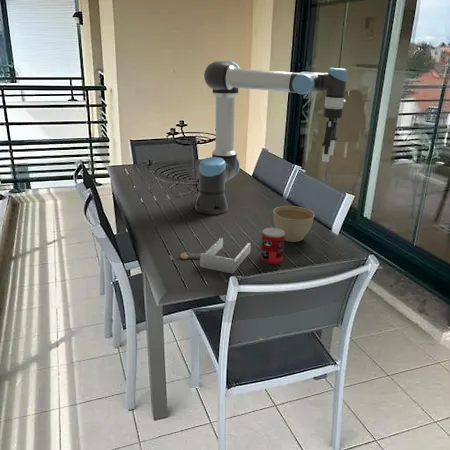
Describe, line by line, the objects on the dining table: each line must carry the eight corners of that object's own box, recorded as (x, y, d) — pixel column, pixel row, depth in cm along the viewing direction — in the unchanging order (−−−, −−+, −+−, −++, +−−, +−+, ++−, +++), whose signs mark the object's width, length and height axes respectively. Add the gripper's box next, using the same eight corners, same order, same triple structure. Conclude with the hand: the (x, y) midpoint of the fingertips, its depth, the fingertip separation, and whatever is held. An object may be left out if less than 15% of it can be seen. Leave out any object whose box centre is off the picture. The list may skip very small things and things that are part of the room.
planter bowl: (302, 249, 172) (305, 222, 168) (264, 239, 180) (266, 213, 176) (317, 236, 185) (320, 211, 180) (281, 227, 192) (283, 203, 188)
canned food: (258, 255, 166) (260, 227, 162) (280, 254, 166) (282, 227, 162) (262, 264, 159) (264, 235, 155) (284, 264, 159) (287, 235, 155)
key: (180, 259, 160) (180, 256, 160) (180, 255, 163) (180, 252, 163) (202, 259, 161) (202, 256, 161) (202, 255, 164) (202, 252, 163)
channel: (200, 266, 155) (200, 253, 154) (220, 246, 172) (220, 234, 170) (232, 273, 152) (233, 260, 150) (250, 251, 168) (251, 239, 166)
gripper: (339, 112, 175) (332, 165, 182) (346, 105, 196) (339, 153, 204) (319, 110, 177) (313, 163, 185) (328, 104, 199) (323, 151, 207)
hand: (327, 158), depth 195 cm, fingers open, 13 cm apart
